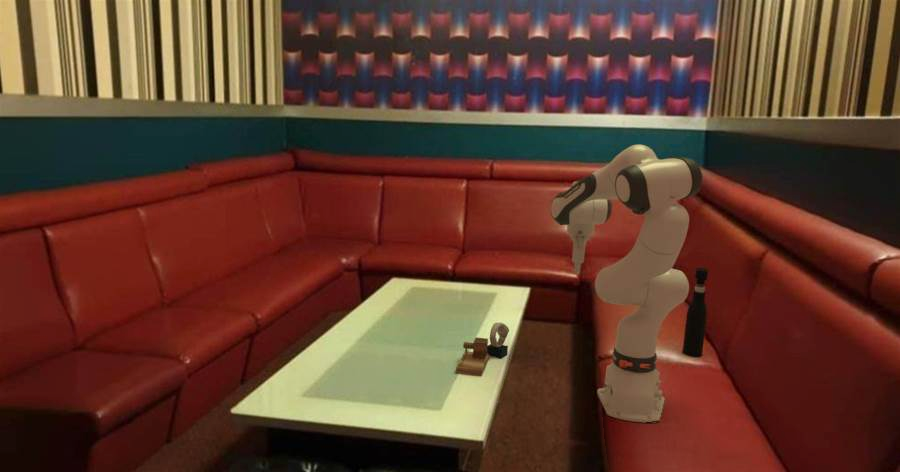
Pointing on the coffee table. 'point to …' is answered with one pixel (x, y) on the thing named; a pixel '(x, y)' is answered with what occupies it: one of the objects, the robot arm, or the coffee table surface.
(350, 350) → the coffee table surface
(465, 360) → the board
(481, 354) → the brown stepped block
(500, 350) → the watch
